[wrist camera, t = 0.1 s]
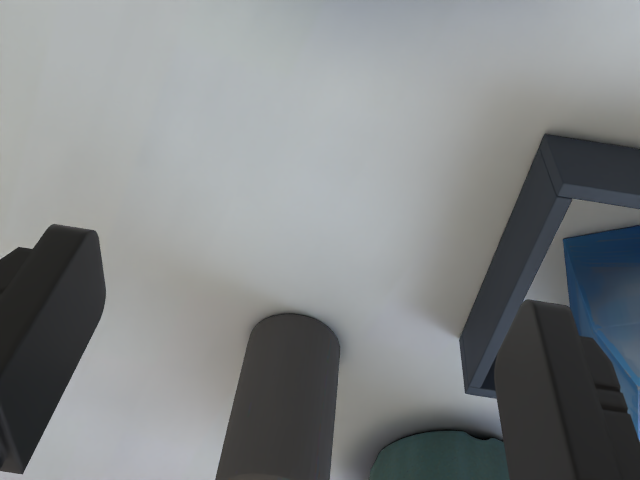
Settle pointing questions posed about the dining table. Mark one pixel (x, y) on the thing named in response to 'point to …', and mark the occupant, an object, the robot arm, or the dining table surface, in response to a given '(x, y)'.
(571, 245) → the perfume bottle
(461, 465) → the flower pot
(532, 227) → the tray
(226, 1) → the dining table surface
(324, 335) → the bottle
